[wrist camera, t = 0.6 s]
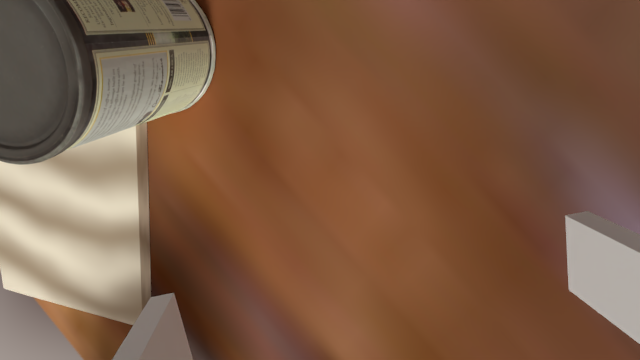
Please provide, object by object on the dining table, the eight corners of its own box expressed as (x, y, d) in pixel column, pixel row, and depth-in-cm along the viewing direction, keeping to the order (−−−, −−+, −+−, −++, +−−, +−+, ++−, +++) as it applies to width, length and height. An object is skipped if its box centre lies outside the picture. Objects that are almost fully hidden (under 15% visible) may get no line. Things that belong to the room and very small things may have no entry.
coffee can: (91, 87, 37) (-94, 121, 24) (108, -44, 33) (-103, -88, 20) (200, 134, 36) (69, 196, 23) (232, 5, 32) (94, -8, 19)
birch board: (-13, 92, 40) (-29, 94, 38) (146, 122, 37) (135, 126, 35) (16, 280, 47) (3, 288, 45) (151, 318, 44) (142, 327, 42)
